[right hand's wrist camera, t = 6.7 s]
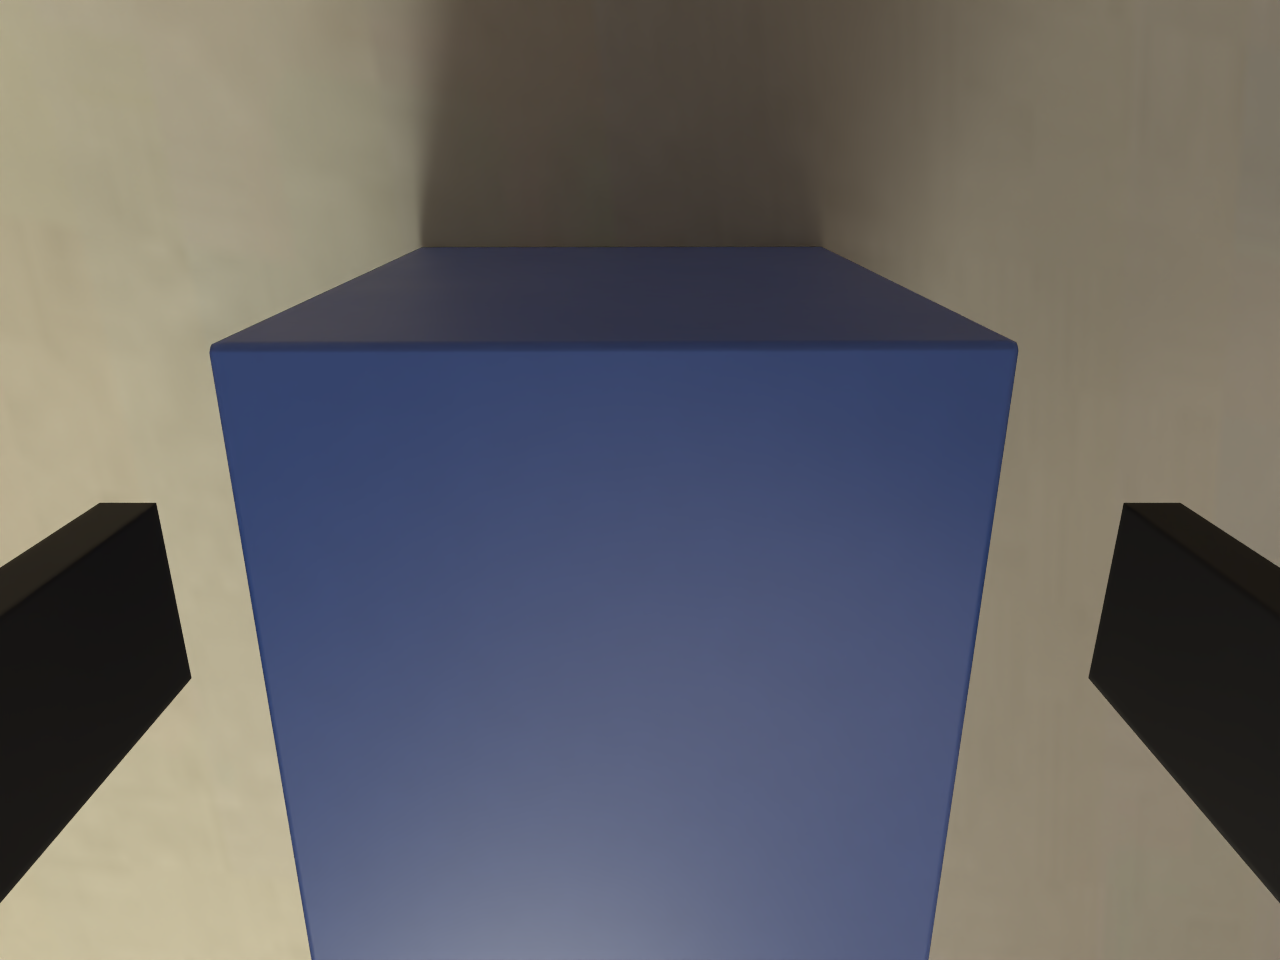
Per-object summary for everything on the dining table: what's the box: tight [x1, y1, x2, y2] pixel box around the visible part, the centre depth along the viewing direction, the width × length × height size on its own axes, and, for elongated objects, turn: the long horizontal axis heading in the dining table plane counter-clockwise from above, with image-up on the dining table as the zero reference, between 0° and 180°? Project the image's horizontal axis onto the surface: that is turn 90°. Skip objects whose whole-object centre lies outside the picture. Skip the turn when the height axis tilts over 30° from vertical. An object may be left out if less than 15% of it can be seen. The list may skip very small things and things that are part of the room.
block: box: [210, 247, 1018, 960], centre depth 14 cm, size 8×8×9 cm
